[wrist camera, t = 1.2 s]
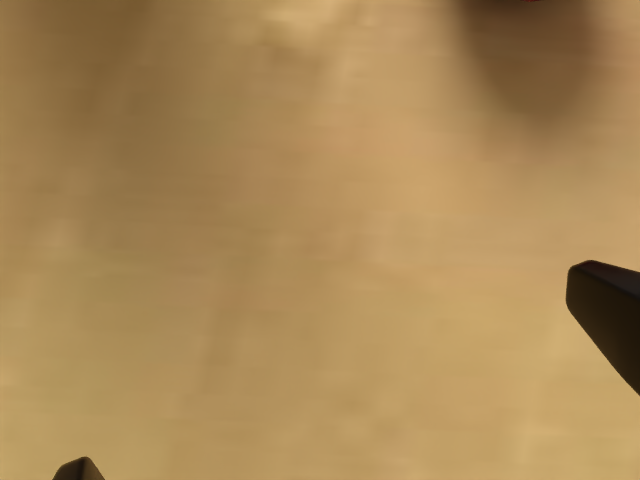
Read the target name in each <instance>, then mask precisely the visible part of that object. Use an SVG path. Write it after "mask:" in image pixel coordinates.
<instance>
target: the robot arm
mask: <svg viewBox="0 0 640 480" xmlns="http://www.w3.org/2000/svg"><path fill="white" fill-rule="evenodd" d="M566 304H567V307H568V309H569V311H570V312H571V314H572V315H573V316H574V318H575V319H576V320H577V321H578V323H579V324H580V325H581V327H582V328H583V329H584V330H585V332H586V333H587V334H588V335H589V337H590V338H591V339H592V341H593V342H594V343H595V344H596V346H597V347H598V348H599V349H600V351H601V352H602V353H603V355H604V356H605V357H606V358H607V360H608V361H609V362H610V364H611V365H612V366H613V367H614V368H615V370H616V371H617V372H618V373H619V374H620V375H621V377H622V378H623V379H624V380H625V381H626V382H627V383H628V384H629V385H630V386H631V387H632V388H633V389H634V391H635V392H636V393H637V394H638V395H639V396H640V272H637V271H633V270H629V269H625V268H621V267H618V266H614V265H610V264H606V263H602V262H598V261H594V260H587V261H584V262H582V263H579V264H576V265H574V266H572V267H570V269H569V271H568V277H567V288H566ZM52 480H105V479H104V477H103V476H102V475H101V473H100V472H99V470H98V469H97V467H96V466H95V464H94V463H93V462H92V460H91V459H90V458H88V457H81V458H79V459H76V460H73V461H71V462H68V463H66V464H64V465H62V466H61V467H60V468H59V469H58V471H57V472H56V474H55V476H54V478H53V479H52Z"/></svg>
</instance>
